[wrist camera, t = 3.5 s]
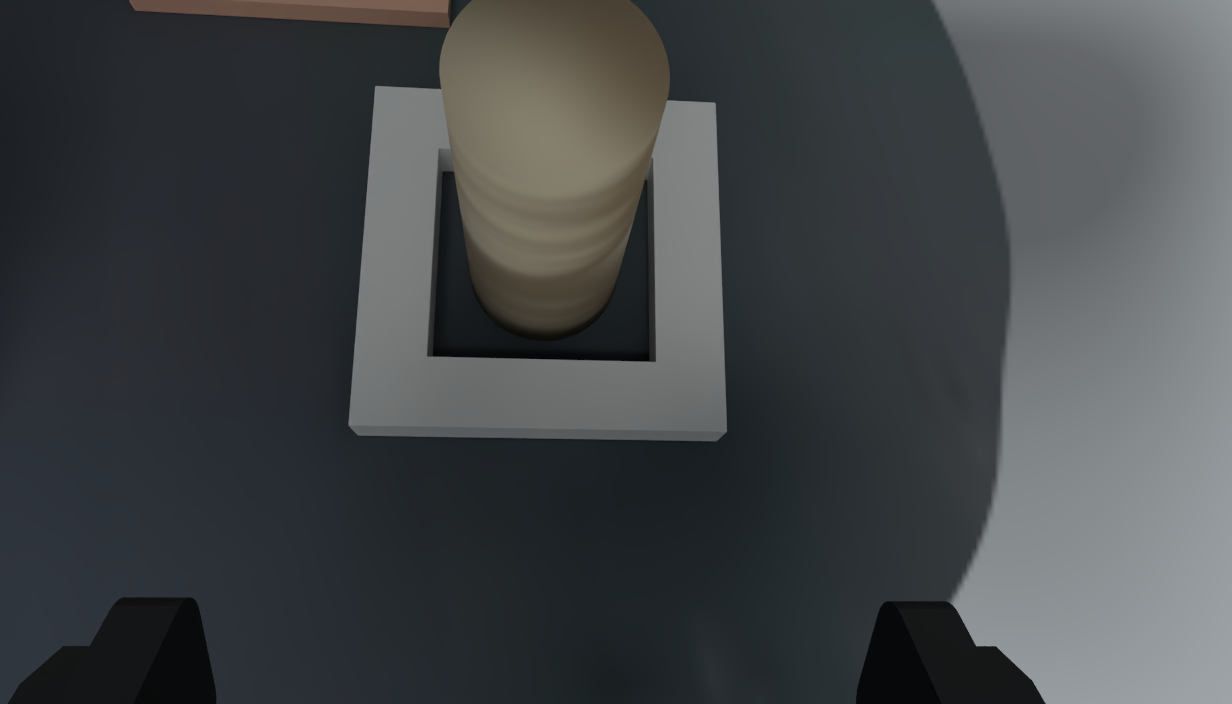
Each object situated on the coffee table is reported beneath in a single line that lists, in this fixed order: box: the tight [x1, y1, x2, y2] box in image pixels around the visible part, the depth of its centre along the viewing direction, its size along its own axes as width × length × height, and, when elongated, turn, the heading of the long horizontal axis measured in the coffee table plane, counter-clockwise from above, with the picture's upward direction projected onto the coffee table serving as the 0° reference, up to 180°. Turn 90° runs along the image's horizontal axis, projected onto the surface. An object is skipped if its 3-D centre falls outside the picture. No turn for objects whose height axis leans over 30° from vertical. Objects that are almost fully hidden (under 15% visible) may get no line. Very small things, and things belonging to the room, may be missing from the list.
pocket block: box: [349, 86, 727, 441], centre depth 28 cm, size 10×10×2 cm
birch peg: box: [439, 0, 670, 341], centre depth 23 cm, size 4×4×11 cm
